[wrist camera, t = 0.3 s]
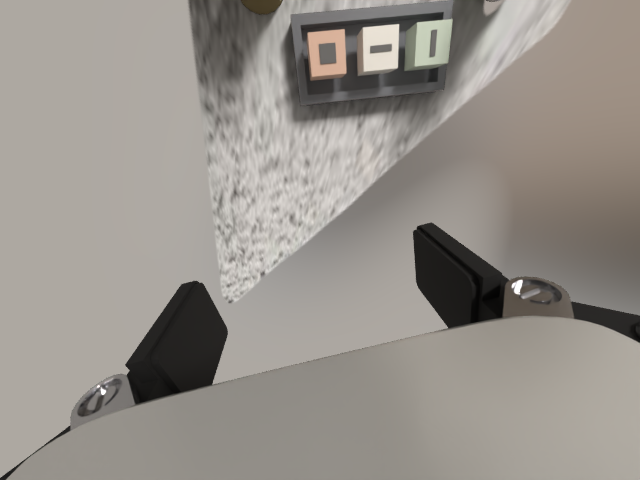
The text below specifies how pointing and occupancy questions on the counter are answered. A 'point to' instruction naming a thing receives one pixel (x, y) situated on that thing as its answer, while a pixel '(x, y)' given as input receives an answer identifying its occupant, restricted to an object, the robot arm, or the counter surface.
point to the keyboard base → (351, 82)
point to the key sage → (427, 45)
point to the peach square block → (326, 54)
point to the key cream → (377, 49)
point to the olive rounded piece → (262, 5)
